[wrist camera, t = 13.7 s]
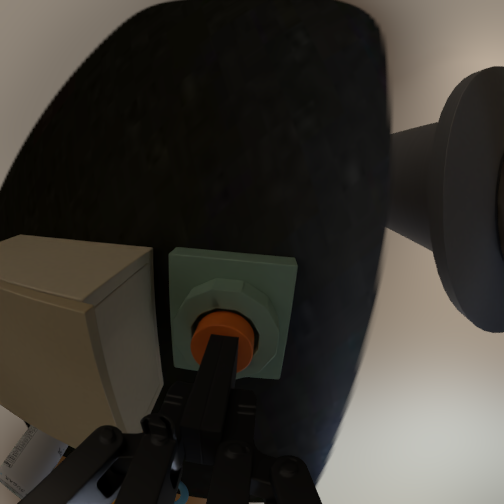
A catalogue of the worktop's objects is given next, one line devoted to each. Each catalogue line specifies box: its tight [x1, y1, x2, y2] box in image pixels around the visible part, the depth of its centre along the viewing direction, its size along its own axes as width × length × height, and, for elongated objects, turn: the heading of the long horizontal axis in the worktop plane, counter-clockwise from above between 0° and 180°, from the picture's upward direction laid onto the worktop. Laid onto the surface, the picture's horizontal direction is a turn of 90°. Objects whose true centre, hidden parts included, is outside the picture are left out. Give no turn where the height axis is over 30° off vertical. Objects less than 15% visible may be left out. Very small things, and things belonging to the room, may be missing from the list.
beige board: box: [0, 280, 127, 449], centre depth 12 cm, size 15×13×1 cm
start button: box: [190, 311, 254, 373], centre depth 16 cm, size 4×4×2 cm
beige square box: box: [0, 235, 163, 433], centre depth 16 cm, size 15×13×9 cm
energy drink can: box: [0, 425, 68, 499], centre depth 20 cm, size 6×6×15 cm
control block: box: [169, 247, 298, 379], centre depth 18 cm, size 8×9×4 cm
